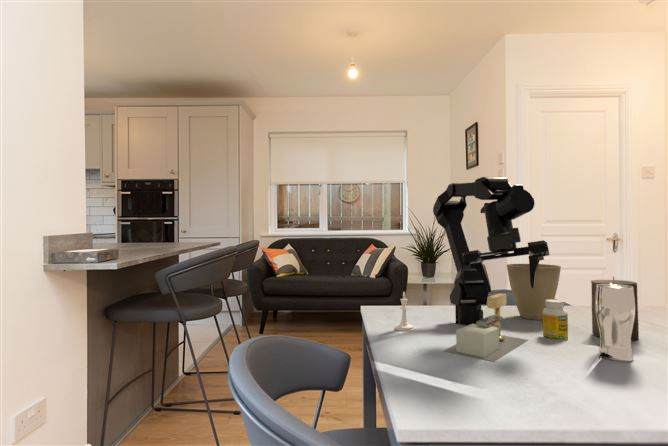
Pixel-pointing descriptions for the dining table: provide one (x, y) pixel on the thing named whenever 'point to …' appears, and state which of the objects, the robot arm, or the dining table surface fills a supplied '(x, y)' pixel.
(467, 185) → the robot arm
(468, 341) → the cover
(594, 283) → the pillar candle
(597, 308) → the silver metal tumbler
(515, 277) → the plant pot
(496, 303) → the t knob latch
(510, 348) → the base
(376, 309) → the dining table surface
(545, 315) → the supplement bottle
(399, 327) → the chess piece
